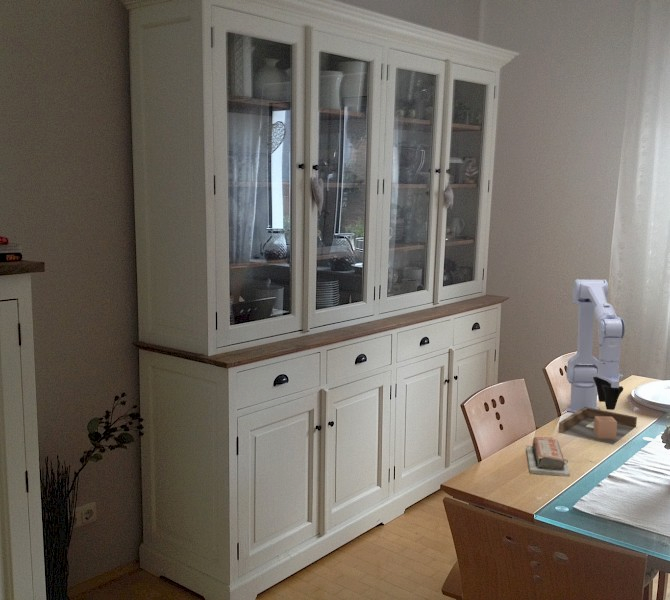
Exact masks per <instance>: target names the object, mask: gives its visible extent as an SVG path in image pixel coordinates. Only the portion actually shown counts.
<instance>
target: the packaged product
mask: <svg viewBox="0 0 670 600" xmlns="http://www.w3.org/2000/svg"><path fill="white" fill-rule="evenodd" d="M559 443H560V442H559V441H558V440H557V439H556V438H553V437H545V436H544V437H543V436H534V437H533V439H532V446H531V445H526V447H525V449H526V454H527V455H526V457H527V465H528V469H529V473H530V474H531V473H533V474H532V475H542V474H549V475H548V476H557V475H559V476H560V477H570V475H571V473H570V469H569V465H568V463H567V460H566V459H565V458H564V456H563V455H564V454H563V453H562V449H561V447H560V444H559Z"/></svg>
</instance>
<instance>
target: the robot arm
mask: <svg viewBox="0 0 670 600" xmlns="http://www.w3.org/2000/svg"><path fill="white" fill-rule="evenodd" d="M608 296H609V283H608V281H607V279H579V278H576V279H575V280H574V282H573V283H572V303H573V304H576V305H577V309H578V310H577V313H578V314H577V315H578V317H577V341H576V342H577V344H576V347H577V348H576V354H574V355H573V356H571V357H570V358H569V359H568V360H567V366H566V380H567V382H568V383H569V384H570V400H569V401H570V404H569V406H568V407H566V408H565V409H564V410H565V412H571V413H576V412H577V411H579V410H581V409H582V408H584V407H588V408H593V409H598V410H600V406H599V407H598V406H597V403H598V402H599V403H601V402H603V403H605V408H606V411H611V410H612V411H615V409H616V407H617V403H618V400H619V397H620V396H621V394H622V393H623V391H624V386H622V385H621V386H620V379H623V378H624V375H623V374H622V373H620V364H621V348H622V339H624V337H625V334H626V333H625V332H626V324H625V321H624V319H623V317H618V316H617V315H618V314H616V311H615V309H614V307H613V305H612V304H611V303H608V300H607V298H608ZM594 318H595V321H596V323H597V341H598V342H597V343H598V344H599V345H598V346H599V347H598V349H599V350H598V359H597V358H596V357H595V356H594V355H593V343H594V342H593V340H594V337H593V335H594ZM597 400H598V401H597Z"/></svg>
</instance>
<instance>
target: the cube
mask: <svg viewBox="0 0 670 600" xmlns="http://www.w3.org/2000/svg"><path fill="white" fill-rule="evenodd" d="M616 432H617V421H616V420H615V419H614V418H613V417H609V416H595V419H594V433H595V435H596V436H597V437H598V438H610V439H616Z"/></svg>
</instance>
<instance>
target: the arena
mask: <svg viewBox="0 0 670 600" xmlns="http://www.w3.org/2000/svg"><path fill="white" fill-rule="evenodd" d="M595 416H609V417H613V418H614V419H615V420H616V421H617V432H616V439H610V438H598V437H597V436H596V435H595V433H594V419H595ZM637 420H638V418H637V416H634V415H629V414H622V413H618V412H613V411H609V410H602V409H593V408H588V407H584V408H582V409H581V410H579V411H577V412H576V413H575V412H573V413H572V414H570V415H569V416H568V417H566V418H564V419H563V420H561V421H560V422H558V433H559V434H564V435H568V436H573V437H577V438H582V439H586V440H591V441H595V442H599V443H604V444H608V445H615V444H616V443H617V442H619V441H620V440H621V439H622V438H624V437H625V436H627V434H629V433H630V432H631V431H633V430H634V429H635V428H637Z"/></svg>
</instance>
